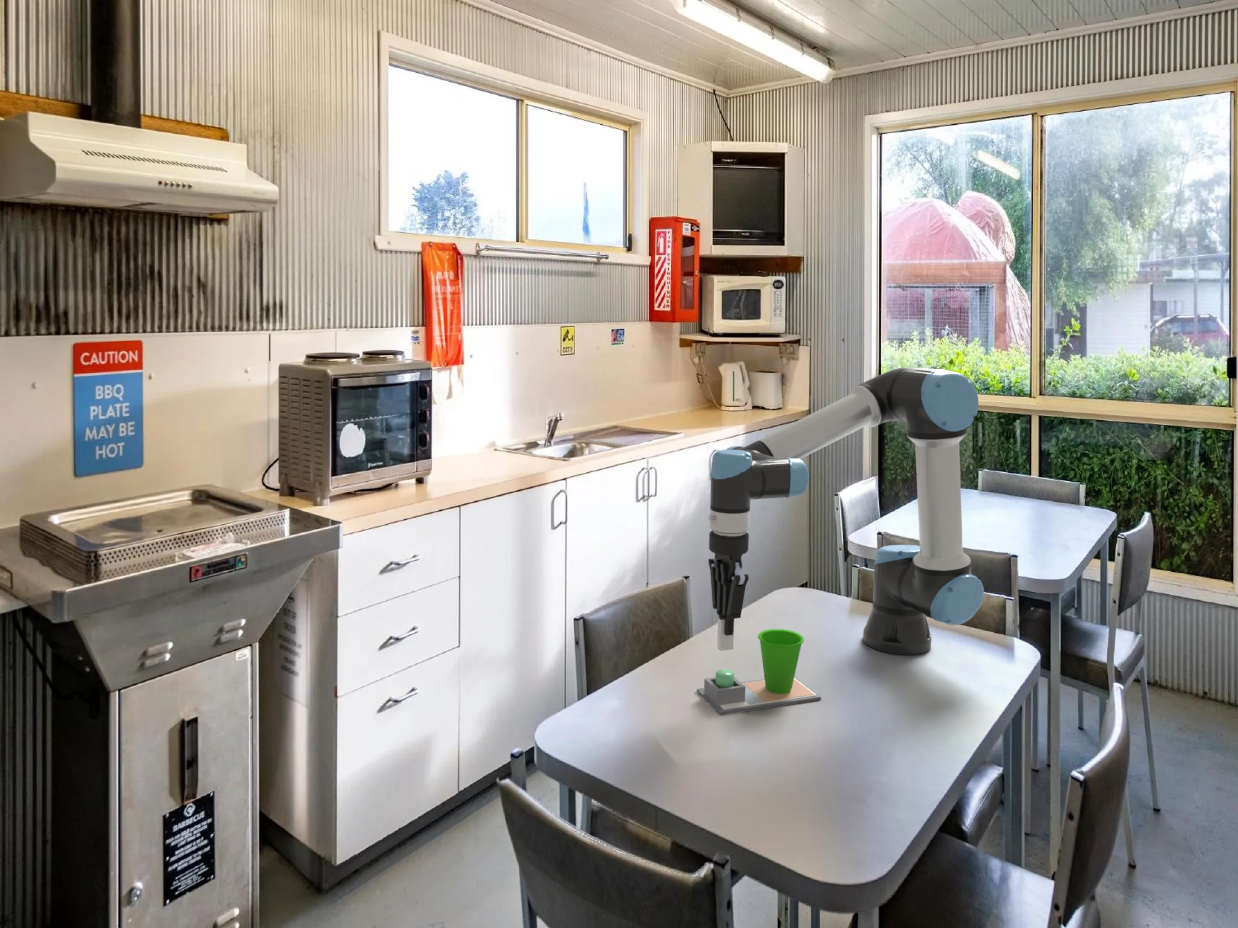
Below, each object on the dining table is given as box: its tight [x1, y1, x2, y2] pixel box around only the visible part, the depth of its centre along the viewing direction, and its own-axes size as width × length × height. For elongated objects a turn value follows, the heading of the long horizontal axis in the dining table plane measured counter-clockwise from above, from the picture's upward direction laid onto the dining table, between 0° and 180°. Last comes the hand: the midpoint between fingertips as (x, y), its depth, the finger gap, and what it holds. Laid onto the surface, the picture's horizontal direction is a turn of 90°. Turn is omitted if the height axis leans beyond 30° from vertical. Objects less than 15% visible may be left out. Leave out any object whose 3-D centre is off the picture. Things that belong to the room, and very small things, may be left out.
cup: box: [757, 628, 805, 694], centre depth 178 cm, size 9×9×11 cm
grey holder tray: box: [696, 676, 822, 716], centre depth 177 cm, size 22×11×4 cm, turn 109°
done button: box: [715, 668, 735, 689], centre depth 175 cm, size 4×4×3 cm
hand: (725, 648), depth 173 cm, fingers closed
